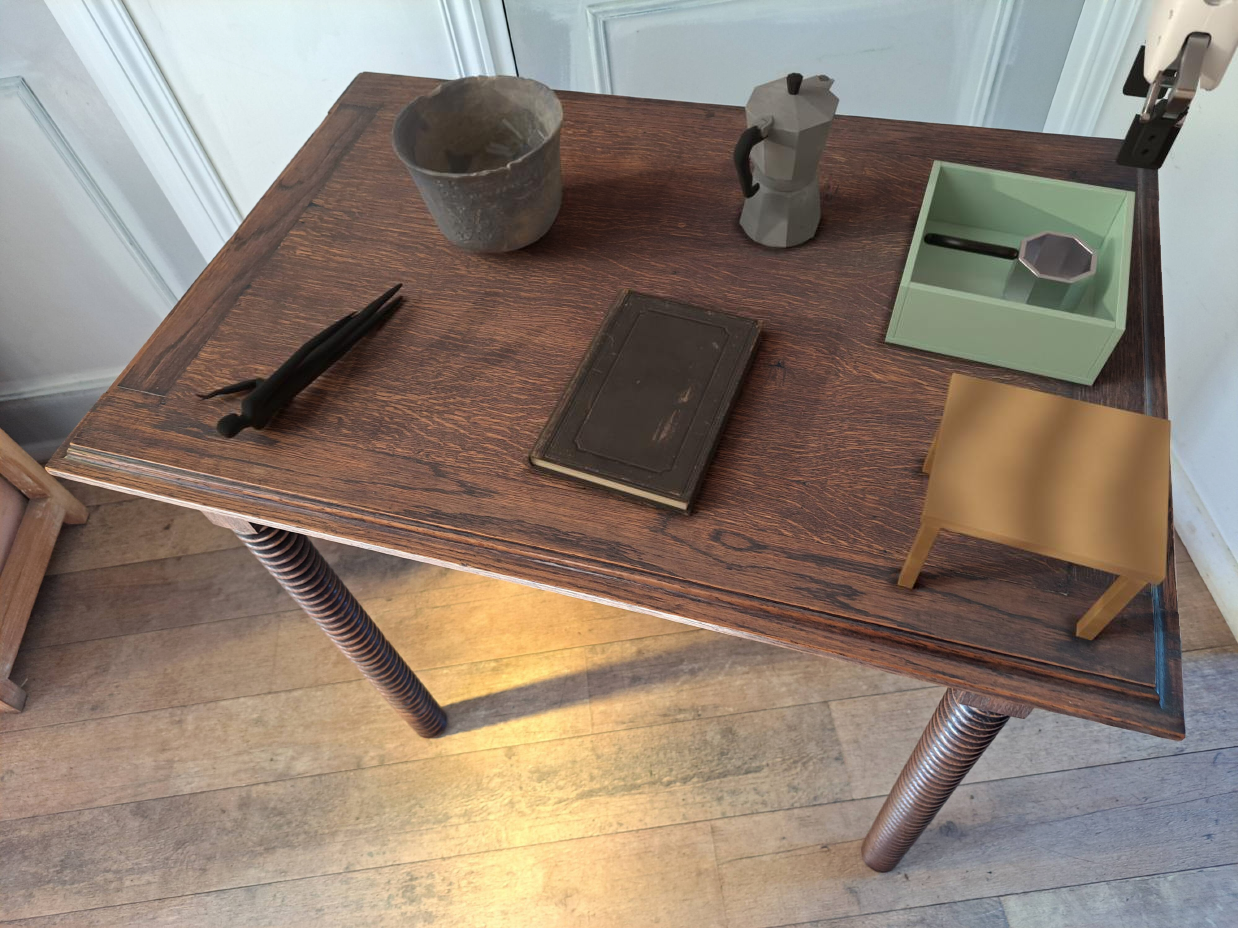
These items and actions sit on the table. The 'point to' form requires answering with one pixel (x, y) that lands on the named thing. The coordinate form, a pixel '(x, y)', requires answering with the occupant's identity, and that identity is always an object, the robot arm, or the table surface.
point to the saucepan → (1037, 267)
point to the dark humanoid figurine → (301, 368)
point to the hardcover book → (649, 400)
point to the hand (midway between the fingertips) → (1139, 129)
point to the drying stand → (1050, 485)
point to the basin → (973, 283)
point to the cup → (485, 159)
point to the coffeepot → (784, 158)
